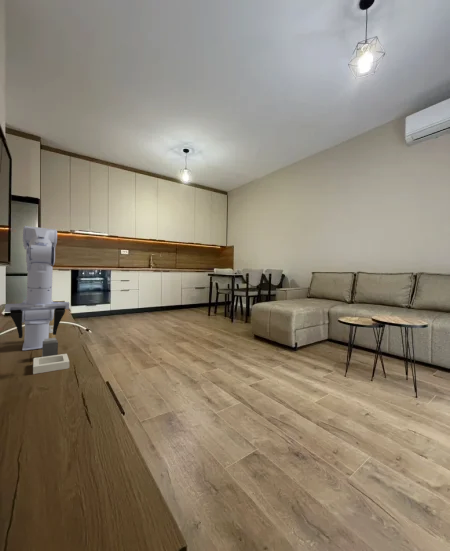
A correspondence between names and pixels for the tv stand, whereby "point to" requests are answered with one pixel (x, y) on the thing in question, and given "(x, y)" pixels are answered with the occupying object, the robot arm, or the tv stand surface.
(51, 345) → the stepped grey plug block
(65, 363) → the socket block
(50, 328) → the sprinkles bottle
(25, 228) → the robot arm
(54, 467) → the tv stand surface
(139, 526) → the tv stand surface
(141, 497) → the tv stand surface
